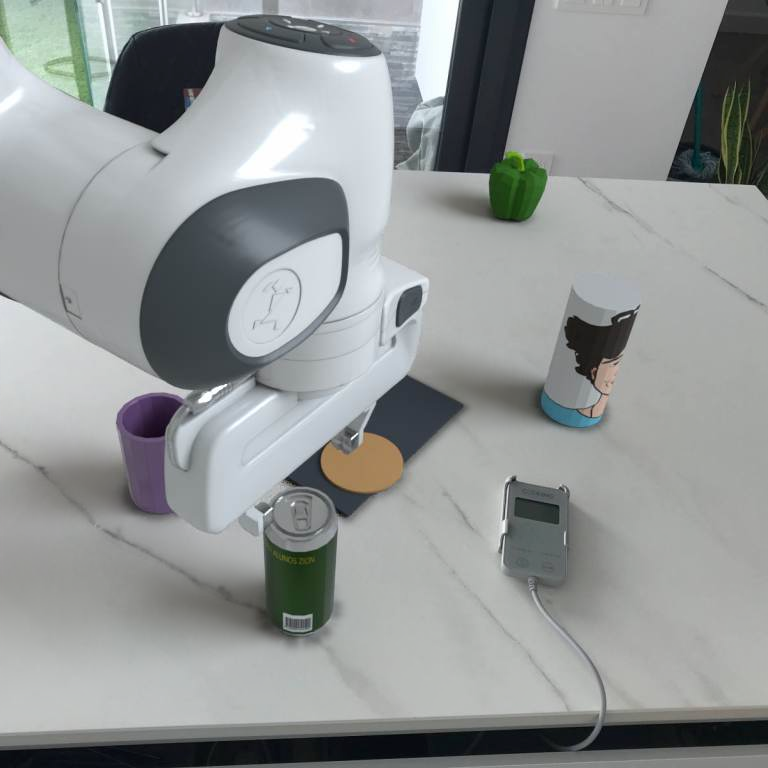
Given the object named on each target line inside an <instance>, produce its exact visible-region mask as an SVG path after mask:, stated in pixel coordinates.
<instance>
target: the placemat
mask: <svg viewBox="0 0 768 768" xmlns="http://www.w3.org/2000/svg"><path fill="white" fill-rule="evenodd" d="M464 406H465V405H464V403H462V402H460V401H458V400H456V399H454V398H452V397H450V396H448V395H447V394H444V393H443V392H441V391H439V390H437V389H435V388H433V387H431V386H429V385H428V384H425V383H423V382H422V381H419V380H418V379H416V378H413V377H412V376H410V375H408V374H407V375H406V376H405V377H404V378H403V379H402V380H400V381H399V382H398V383H397V384H395V385H394V386H393V387H392V388H391V389H390V390H388V391H387V392H386V393H385V394H384V395H383V396H381V397H380V398H379V399H378V400H377V401H376V405H375V407H374V409H373V411H372V413H371V416H370V418H369V420H368V422H367V424H366V426H365V428H364V430H363V443H362V444H361V445H360V446H359V447H357V448H356V449H355V450H354V451H353V452H352V453H350V454H349V455H346V454H344V453H343V452H342V450H337V449H336V448H335V447H334V446H333V445H332V443H331V440H330V441H328V442H327V443H326V444H325V445H324V446H323V447H321V448H320V449H319V450H318V451H317V452H315V453H314V454H313V455H312V456H311V457H310V458H308V459H307V460H306V461H305V462H304V463H303V464H301V465H300V466H299V467H298V468H297V469H295V470H294V471H293V472H292V473H291V474H290V475H288V476H287V477H286V478H285V479H286V480H288V481H289V482H291V483H292V484H294V485H295V486H296V487H310V488H314V489H317V490H319V491H321V492H323V493H324V494H326V495H327V496H328V497H329V498H330V499H331V500H332V502H333V504H334V507H335V511H336V512H338V513H339V514H341V515H343V516H344V517H346V518H349V517H350V516H351V515H352V514H353V513H354V512H355V511H357V509H358V508H359V507H360V506H361V505H362V504H364V503H365V502H366V501H367V500H368V499H369V498H370V497H371V496H372V495H373V494H375V493H380V492H382V491H385V490H387V489H389V488H390V487H392V486H393V485H395V483H397V482H398V480H400V477H401V476H402V473H403V471H404V470H403V469H404V465H405V463H406V462H407V461H408V460H410V459H411V458H412V456H414V455H415V454H416V453H417V452H418V451H419V450H420V449H421V448H423V446H424V445H425V444H426V443H428V441H429V440H430V439H432V438H433V437H434V435H436V434H437V433H438V432H439V431H440V430H441V429H442V428H443V427H444V426H445V425H446V424H447V423H448V422H449V421H450V420H451V419H453V417H454V416H455V415H457V413H458V412H459V411H461V410H462V408H464Z"/></svg>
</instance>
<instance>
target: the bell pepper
mask: <svg viewBox="0 0 768 768" xmlns="http://www.w3.org/2000/svg"><path fill="white" fill-rule="evenodd" d="M504 155H505V158H503V159H502V160H501V162H496V163H494V164H493V166H492V167H491V169H490V170H489V171H490V172H489V178H488V193H489V194H488V195H489V196H488V197H489V205H490V208H491V211H492V213H493V215H494V216H496V217H497V218H499V219H503V220H504V219H505V220H510V219H512V220H515V221H518V222H523V221H526V220H527V221H528V220H529V219H530V218H531V217H532V216H533V214H534V213H535V211H536V209H537V207H538V205H539V204H540V202H541V199H542V197H543V195H544V193H545V191H546V187H547V183H548V171H547V169H545V168H543V167H539V164H538V163H537V161H535V159H534V158H533V157H530V158H524V157H523V155H522V154H520V152H518V151H514V150H513V151H512V150H509V151H506V152H504Z"/></svg>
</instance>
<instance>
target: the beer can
mask: <svg viewBox="0 0 768 768" xmlns="http://www.w3.org/2000/svg"><path fill="white" fill-rule="evenodd" d="M267 504H268V505H270V506H271V507H273V516H272V518H273V519H274V522H273V523H272V524H271V525H270V526H269V527H267V528H266V529H265V530H264V531H263V532H262V536H263V537H262V538H263V541H262V542H263V564H264V591H265V610H266V613H267V617H268V619H269V621H270V622H271V623H272V625H273V626H274V627H275V628H276V629H278V630H279V631H281V632H282V633H284V634H286V635H289V636H292V637H306V636H310V635H313V634H314V633H317V632H318V631H319V630H321V629H322V628H323V627H324V626H325V625H326V624H327V622H329V620H330V619H331V616H332V615H333V612H334V604H335V602H334V601H335V586H336V585H335V584H336V569H337V568H336V567H337V551H338V531H339V517H338V514H337V511H336V510H335V507H334V504H333V502H332V500H331V499H330V498H329V497H328V496H327V495H326V494H324V493H323V492H321V491H319V490H317V489H314V488H310V487H299V486H294V487H289V488H285V489H284V490H282V491H280V492H277V493H276V494H275V496H273V497H272V498H271V499H270V500H269V503H267Z"/></svg>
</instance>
